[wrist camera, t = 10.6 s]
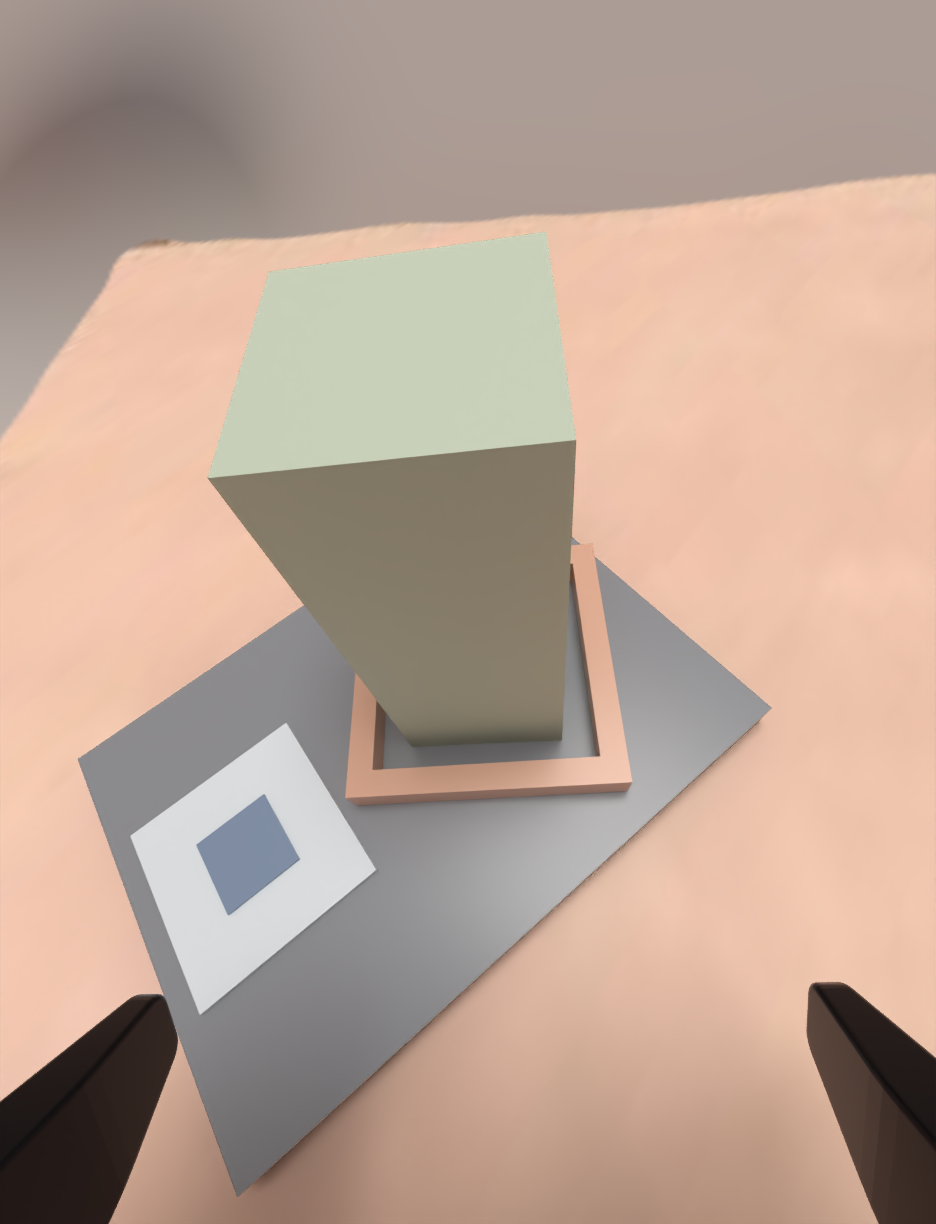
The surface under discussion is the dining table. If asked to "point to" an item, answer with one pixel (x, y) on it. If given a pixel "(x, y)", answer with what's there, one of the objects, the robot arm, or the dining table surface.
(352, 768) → the collar
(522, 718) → the pillar
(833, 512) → the dining table surface
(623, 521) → the dining table surface
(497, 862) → the baseplate
